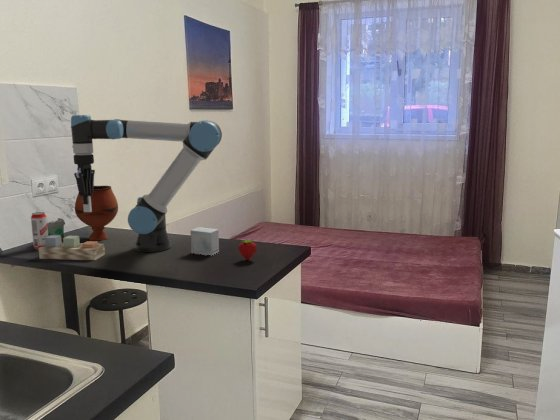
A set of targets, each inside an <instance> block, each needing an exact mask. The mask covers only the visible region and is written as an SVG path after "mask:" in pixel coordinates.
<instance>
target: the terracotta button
mask: <svg viewBox="0 0 560 420" xmlns="http://www.w3.org/2000/svg"><path fill="white" fill-rule="evenodd" d="M98 244H99V240H96V241H93V240H89V241H88V240H87V241H85V242H83V244H82V248H92V249H94V248H96V247H97V246H98Z"/></svg>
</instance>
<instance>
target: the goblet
mask: <svg viewBox="0 0 560 420" xmlns="http://www.w3.org/2000/svg"><path fill="white" fill-rule="evenodd" d="M91 194H93V195H90V196H91V207H92V212H84V208H83V196H80V195H79V192H78V194H77V195H76V196H77V197H76V198H75V202H74V213H75V215H76V217H77V218H78V219H79V220H80V221H81V222H82V223H84V224H85V225H87V226H89V227H91V230H92V233H91V234H90V235H89V236H88V240H89V241H104V240H107V239H108V238H109V236H108V235H107V234H106V232H105V231H104V230H105V227H106V226H107V225H109V224H110V223H111V222H113V220H114V219H115V217H116V216H117V214H118V210H119V203H118V199H117V198H116V196H115V194H114V192H113V189H112V186H111V185H94V189H93V193H91Z"/></svg>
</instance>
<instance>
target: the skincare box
mask: <svg viewBox="0 0 560 420" xmlns="http://www.w3.org/2000/svg"><path fill="white" fill-rule="evenodd" d="M219 238H220V237H219V229H218V228H210V227H208V228H207V227H201V226H197V227H195V228H193V229H190V249H191V250H190V252H191V254H193V253H194V254H195V255H200V254H201V255H203V256H207V255H211V256H210V257H213V256H215V255H217V254H219V253H220V245H219V244H220V243H219V242H220V240H219ZM218 252H219V253H218ZM216 253H217V254H216ZM214 254H215V255H214ZM212 255H213V256H212Z"/></svg>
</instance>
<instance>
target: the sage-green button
mask: <svg viewBox="0 0 560 420" xmlns="http://www.w3.org/2000/svg"><path fill="white" fill-rule="evenodd" d="M80 241H81V240H80V235H68V236H67V235H66V236H64V238H63V242H62V243H63V244H64V248H75V247H77V246H79V245H80Z"/></svg>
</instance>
